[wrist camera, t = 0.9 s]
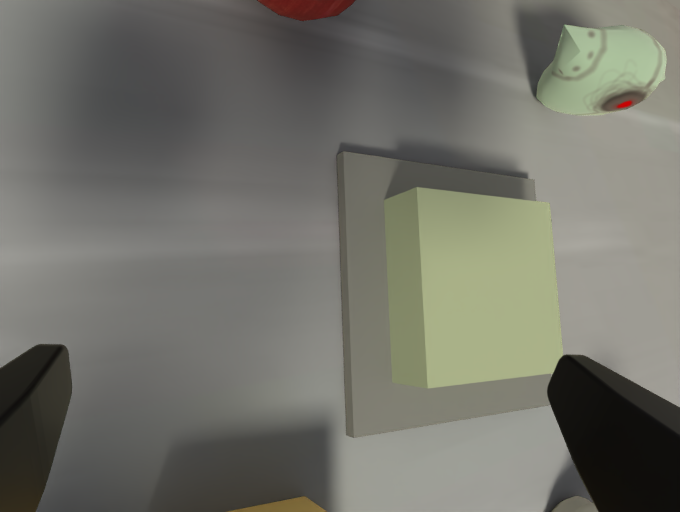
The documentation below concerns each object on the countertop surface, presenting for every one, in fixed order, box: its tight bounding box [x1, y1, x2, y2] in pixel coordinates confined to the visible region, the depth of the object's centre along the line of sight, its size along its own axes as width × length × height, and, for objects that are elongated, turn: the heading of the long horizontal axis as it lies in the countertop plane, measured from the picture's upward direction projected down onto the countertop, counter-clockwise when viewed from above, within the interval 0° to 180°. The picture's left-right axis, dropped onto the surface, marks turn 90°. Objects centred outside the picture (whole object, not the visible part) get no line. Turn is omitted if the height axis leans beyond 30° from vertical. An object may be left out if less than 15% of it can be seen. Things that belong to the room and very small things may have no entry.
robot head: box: [536, 25, 667, 115], centre depth 27 cm, size 8×4×7 cm, turn 93°
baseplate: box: [337, 151, 563, 438], centre depth 23 cm, size 12×12×3 cm
